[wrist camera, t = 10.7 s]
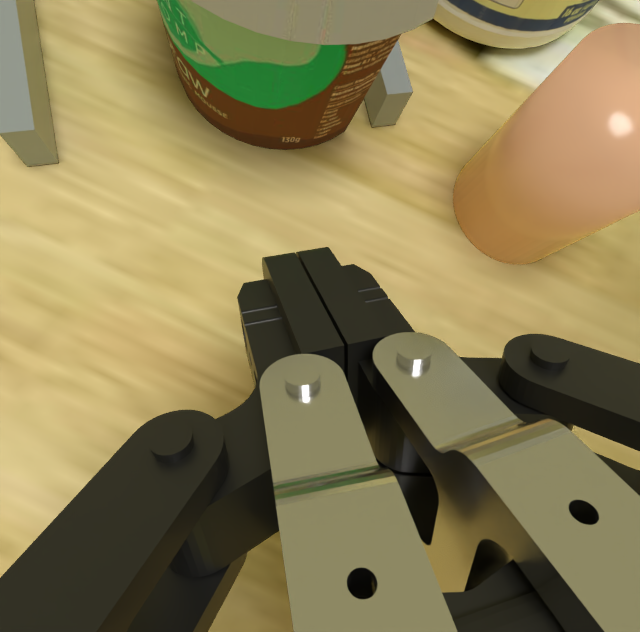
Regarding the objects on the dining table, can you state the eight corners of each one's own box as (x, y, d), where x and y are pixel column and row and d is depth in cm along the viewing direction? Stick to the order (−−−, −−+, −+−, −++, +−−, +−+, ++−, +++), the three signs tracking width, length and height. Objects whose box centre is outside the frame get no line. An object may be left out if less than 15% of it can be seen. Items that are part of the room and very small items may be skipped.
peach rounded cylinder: (544, 143, 24) (690, 18, 16) (580, 253, 23) (753, 174, 15) (438, 157, 23) (542, 28, 15) (472, 274, 22) (601, 200, 14)
